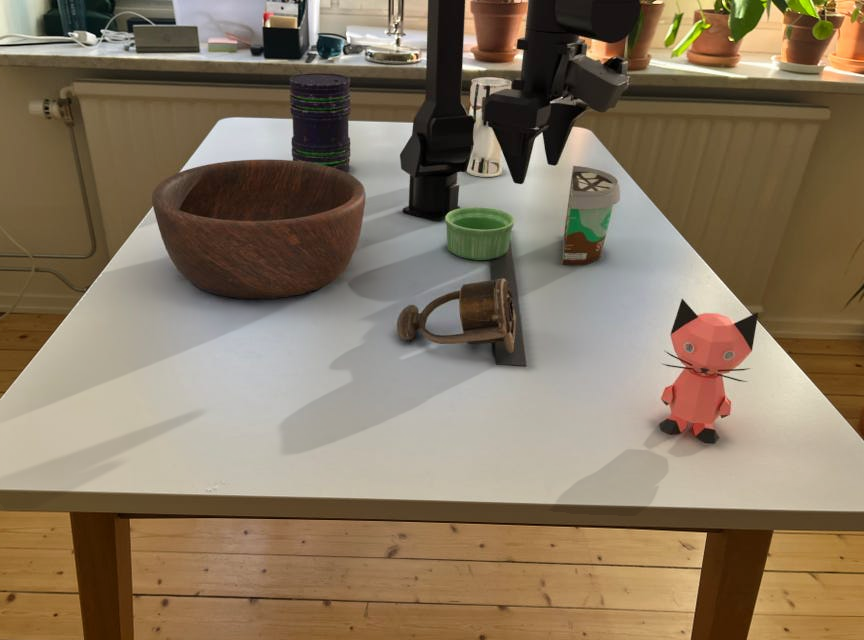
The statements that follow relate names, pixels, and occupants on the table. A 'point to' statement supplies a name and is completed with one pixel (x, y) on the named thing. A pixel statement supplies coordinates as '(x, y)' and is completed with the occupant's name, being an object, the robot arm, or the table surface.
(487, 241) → the ramekin
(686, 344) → the cat figurine
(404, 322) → the bronze metal cylindrical vessel
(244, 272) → the wooden bowl
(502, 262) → the dark grey flat bar
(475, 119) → the beer glass
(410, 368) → the table surface
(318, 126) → the storage jar
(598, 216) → the food container
